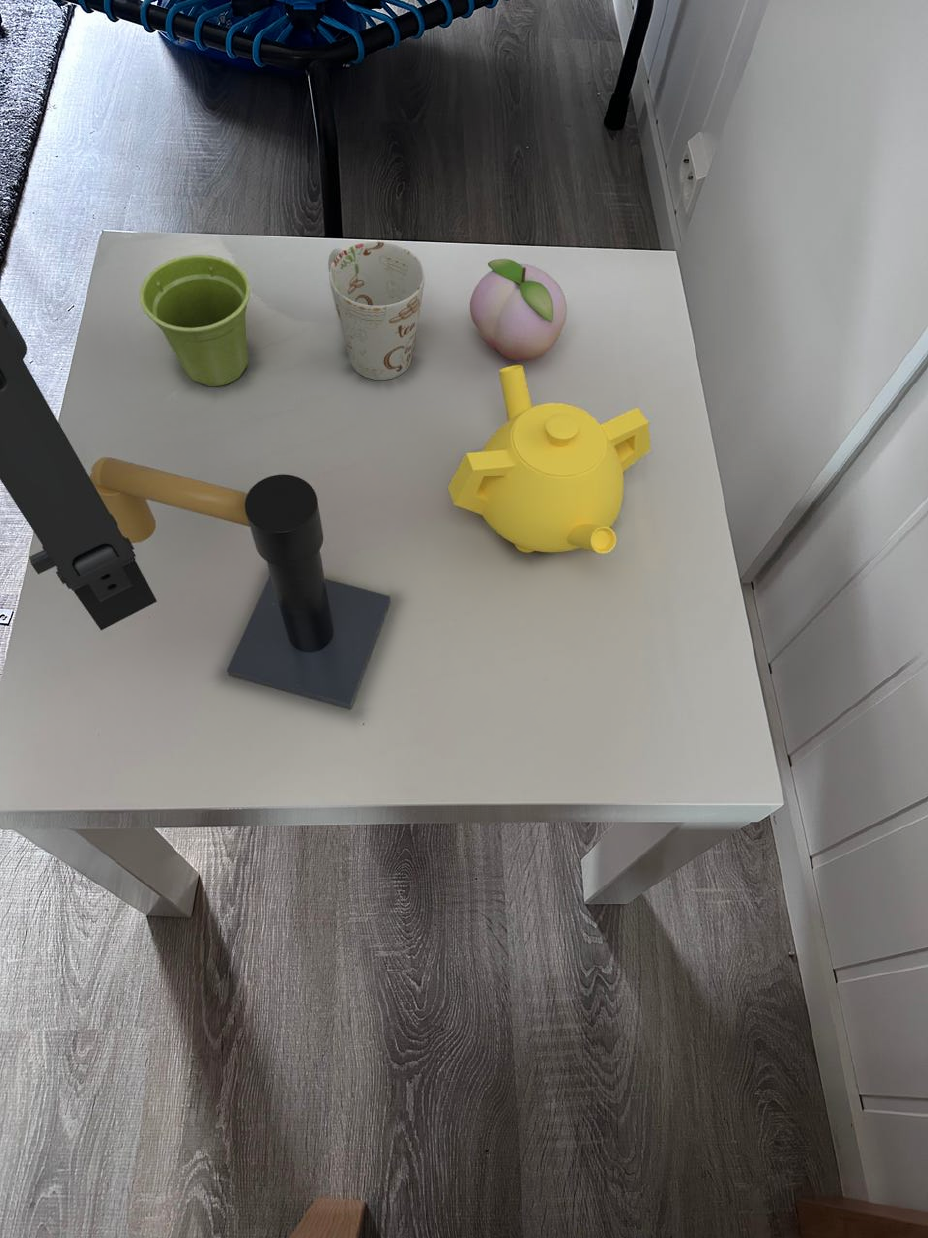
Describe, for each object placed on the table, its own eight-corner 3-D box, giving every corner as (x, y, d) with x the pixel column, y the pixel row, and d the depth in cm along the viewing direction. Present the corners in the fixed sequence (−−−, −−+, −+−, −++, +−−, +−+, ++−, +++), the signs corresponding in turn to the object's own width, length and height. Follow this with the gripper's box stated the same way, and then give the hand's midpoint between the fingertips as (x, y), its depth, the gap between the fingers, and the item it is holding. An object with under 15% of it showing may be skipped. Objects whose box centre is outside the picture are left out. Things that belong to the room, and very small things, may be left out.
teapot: (410, 450, 77) (410, 359, 67) (586, 403, 81) (610, 312, 71) (491, 633, 69) (504, 560, 59) (683, 571, 73) (725, 493, 63)
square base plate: (228, 675, 66) (186, 584, 53) (276, 571, 70) (247, 465, 58) (350, 710, 65) (336, 625, 53) (390, 602, 70) (386, 501, 57)
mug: (371, 403, 80) (366, 320, 71) (296, 326, 84) (282, 238, 75) (440, 364, 82) (443, 280, 74) (364, 292, 87) (358, 204, 78)
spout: (102, 546, 59) (61, 476, 52) (131, 497, 61) (94, 423, 54) (315, 604, 57) (302, 540, 50) (337, 552, 59) (327, 484, 52)
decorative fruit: (576, 355, 84) (596, 272, 75) (521, 398, 81) (535, 316, 72) (508, 306, 87) (519, 220, 78) (452, 345, 84) (457, 260, 75)
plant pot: (185, 414, 78) (161, 342, 70) (151, 347, 81) (124, 272, 74) (280, 381, 80) (266, 308, 73) (242, 317, 84) (226, 242, 76)
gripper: (116, 254, 19) (261, 662, 37) (-216, -192, 27) (36, 319, 46) (-251, 390, 16) (100, 753, 35) (-485, -146, 25) (-105, 373, 44)
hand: (64, 507), depth 41 cm, fingers open, 13 cm apart
